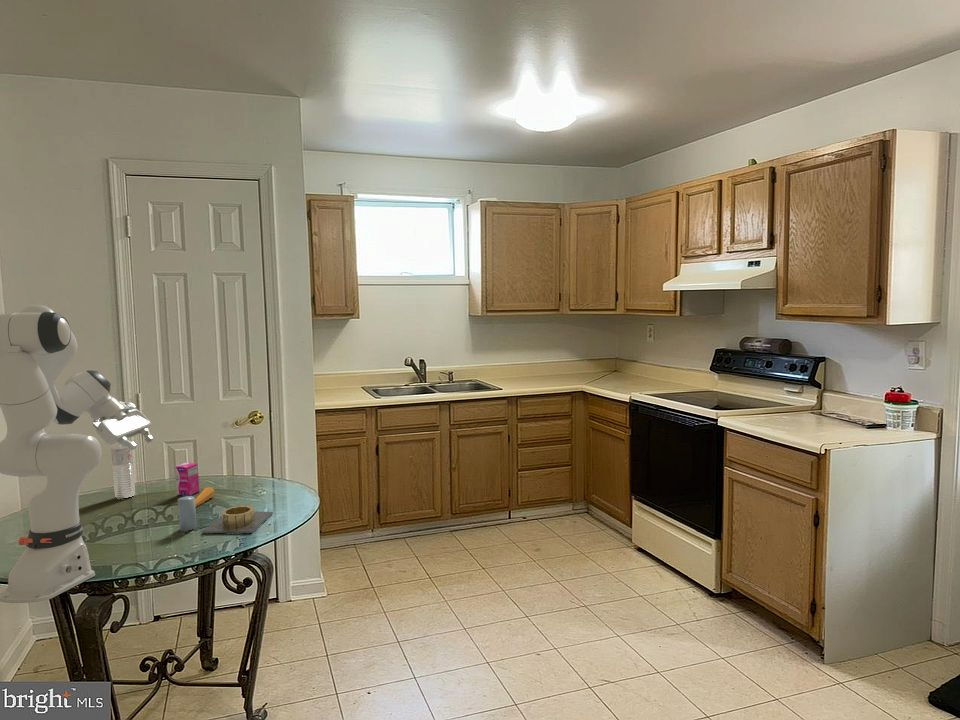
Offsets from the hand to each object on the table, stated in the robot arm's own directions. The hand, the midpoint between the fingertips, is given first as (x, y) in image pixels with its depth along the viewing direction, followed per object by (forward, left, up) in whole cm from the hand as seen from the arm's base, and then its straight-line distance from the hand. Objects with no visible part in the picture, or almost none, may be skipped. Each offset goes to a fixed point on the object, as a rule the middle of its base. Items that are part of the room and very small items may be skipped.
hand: (143, 444), depth 210 cm
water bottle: (+34, +29, -28) cm, 53 cm away
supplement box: (+37, +6, -28) cm, 47 cm away
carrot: (+24, -3, -28) cm, 37 cm away
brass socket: (+4, -28, -28) cm, 40 cm away
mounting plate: (+4, -28, -28) cm, 40 cm away
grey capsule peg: (0, -13, -28) cm, 31 cm away
